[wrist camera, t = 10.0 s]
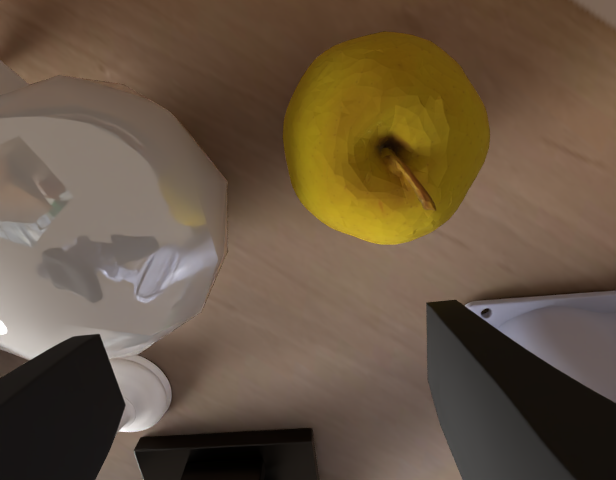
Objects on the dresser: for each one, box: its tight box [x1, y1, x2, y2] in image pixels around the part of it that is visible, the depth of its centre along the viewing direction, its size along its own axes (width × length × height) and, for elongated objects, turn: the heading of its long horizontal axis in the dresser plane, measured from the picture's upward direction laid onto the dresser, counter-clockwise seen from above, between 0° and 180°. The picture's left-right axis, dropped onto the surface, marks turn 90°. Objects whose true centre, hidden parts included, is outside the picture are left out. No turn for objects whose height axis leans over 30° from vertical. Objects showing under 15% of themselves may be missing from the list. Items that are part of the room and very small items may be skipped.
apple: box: [283, 31, 490, 245], centre depth 14 cm, size 6×6×8 cm
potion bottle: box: [0, 60, 228, 360], centre depth 14 cm, size 9×10×15 cm
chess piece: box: [109, 355, 172, 436], centre depth 18 cm, size 5×5×10 cm
